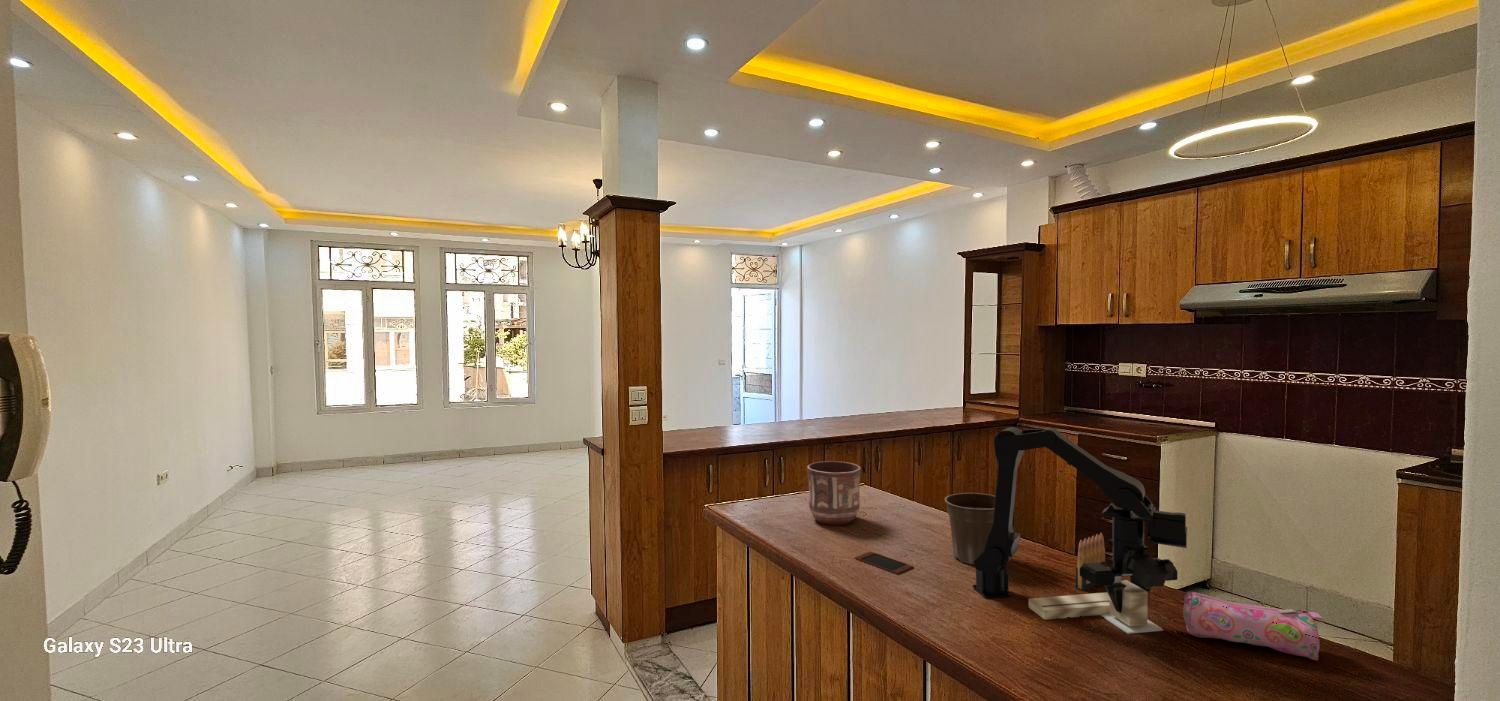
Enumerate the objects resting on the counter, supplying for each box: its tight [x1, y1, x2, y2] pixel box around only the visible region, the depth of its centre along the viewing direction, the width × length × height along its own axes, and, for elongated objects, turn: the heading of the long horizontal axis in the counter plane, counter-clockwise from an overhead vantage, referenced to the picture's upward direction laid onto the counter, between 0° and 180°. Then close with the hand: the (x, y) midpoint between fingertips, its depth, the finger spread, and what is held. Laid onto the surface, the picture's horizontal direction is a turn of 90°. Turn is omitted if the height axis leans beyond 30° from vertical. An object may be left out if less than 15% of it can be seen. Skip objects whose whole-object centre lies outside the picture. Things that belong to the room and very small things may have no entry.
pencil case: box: [1182, 591, 1324, 662], centre depth 123 cm, size 21×9×9 cm, turn 60°
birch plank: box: [1028, 591, 1110, 620], centre depth 140 cm, size 22×6×2 cm, turn 98°
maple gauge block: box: [1110, 579, 1148, 626], centre depth 133 cm, size 4×6×7 cm, turn 7°
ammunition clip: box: [1075, 532, 1108, 592], centre depth 153 cm, size 11×2×12 cm, turn 122°
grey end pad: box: [1100, 614, 1164, 635], centre depth 133 cm, size 8×8×1 cm
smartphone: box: [854, 551, 915, 576], centre depth 169 cm, size 7×1×15 cm
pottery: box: [806, 460, 862, 526], centre depth 207 cm, size 18×18×18 cm
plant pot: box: [944, 492, 995, 566], centre depth 171 cm, size 16×16×16 cm
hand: (1128, 611), depth 133 cm, fingers closed on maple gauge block, 4 cm apart
